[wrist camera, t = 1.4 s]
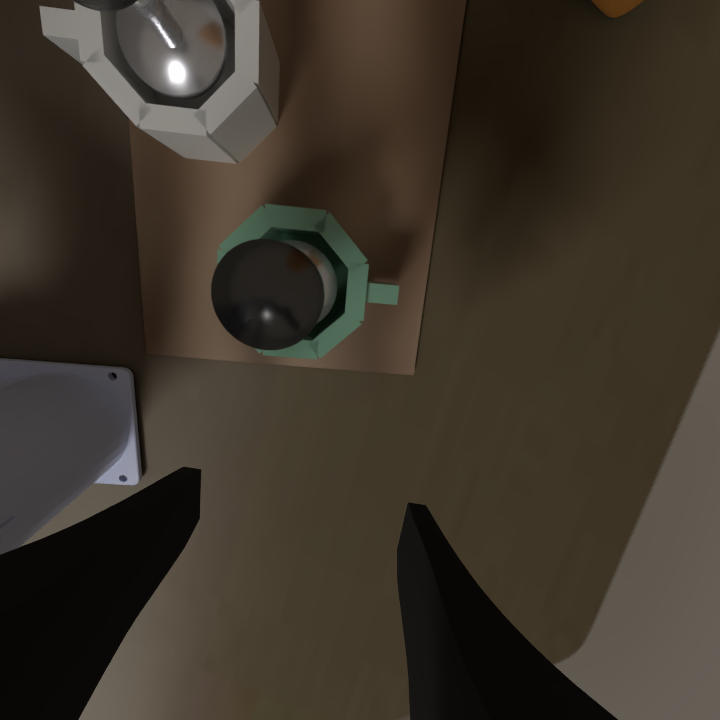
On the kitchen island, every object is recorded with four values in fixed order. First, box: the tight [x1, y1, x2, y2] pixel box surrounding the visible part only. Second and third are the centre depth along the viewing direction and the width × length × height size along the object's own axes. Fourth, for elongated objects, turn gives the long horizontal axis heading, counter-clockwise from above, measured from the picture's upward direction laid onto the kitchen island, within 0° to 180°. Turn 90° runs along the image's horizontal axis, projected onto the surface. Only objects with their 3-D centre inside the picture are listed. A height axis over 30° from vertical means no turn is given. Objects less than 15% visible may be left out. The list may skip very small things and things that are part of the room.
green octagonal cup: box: [217, 204, 399, 359], centre depth 18 cm, size 8×7×4 cm
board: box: [128, 0, 466, 375], centre depth 18 cm, size 16×19×1 cm
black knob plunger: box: [211, 239, 337, 350], centre depth 13 cm, size 4×4×6 cm
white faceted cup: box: [39, 0, 280, 164], centre depth 15 cm, size 8×7×4 cm
